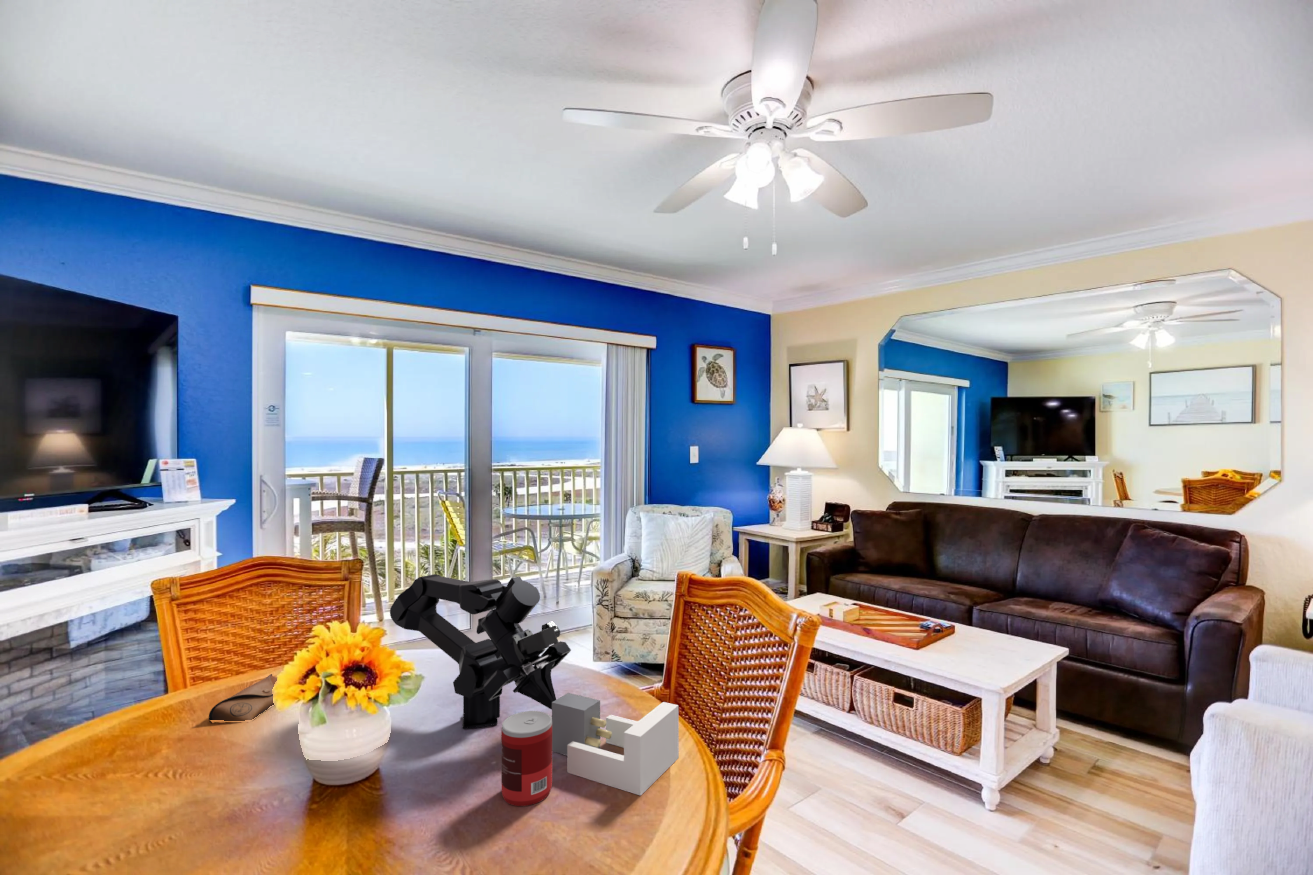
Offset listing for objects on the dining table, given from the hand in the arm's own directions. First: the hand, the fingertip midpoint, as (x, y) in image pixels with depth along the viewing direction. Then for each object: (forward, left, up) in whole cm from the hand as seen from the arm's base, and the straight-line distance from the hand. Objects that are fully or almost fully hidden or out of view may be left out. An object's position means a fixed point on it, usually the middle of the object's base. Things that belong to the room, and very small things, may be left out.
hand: (555, 707), depth 110 cm
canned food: (-6, -14, -7) cm, 17 cm away
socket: (+10, -10, -7) cm, 16 cm away
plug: (+4, -4, -6) cm, 9 cm away
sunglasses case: (-58, +35, -7) cm, 68 cm away
